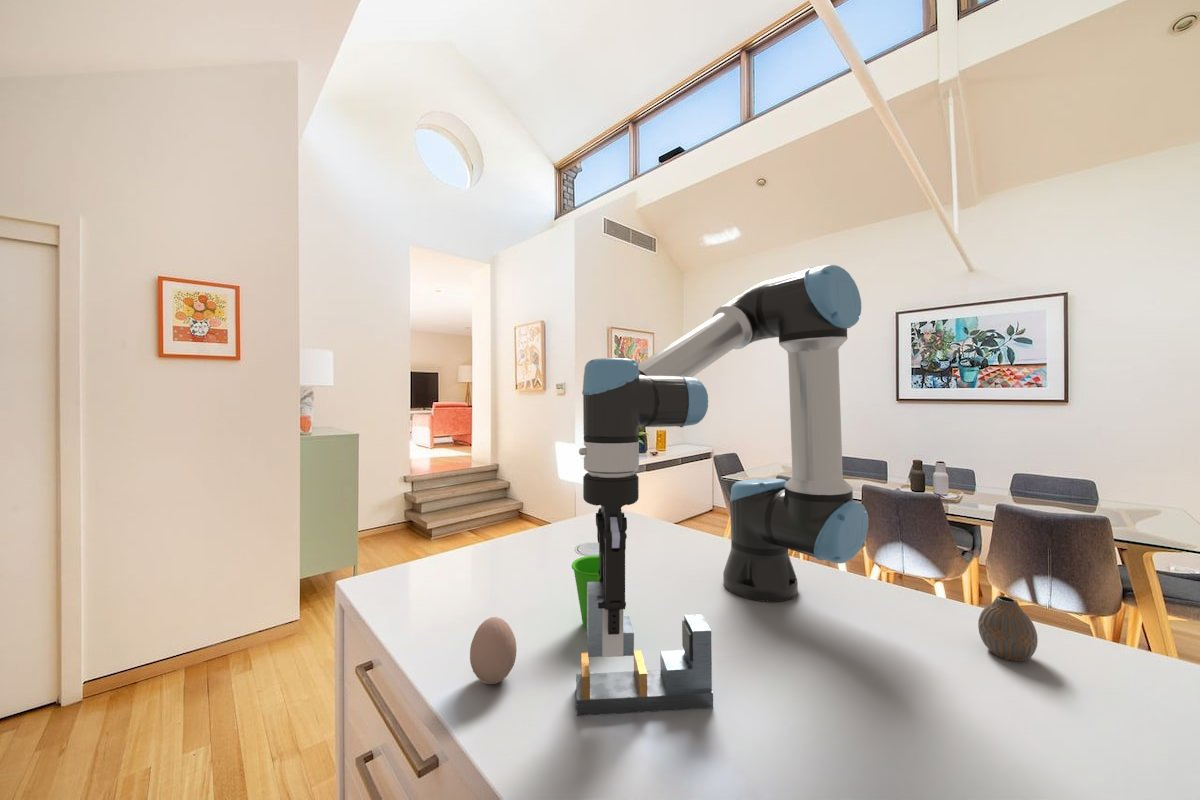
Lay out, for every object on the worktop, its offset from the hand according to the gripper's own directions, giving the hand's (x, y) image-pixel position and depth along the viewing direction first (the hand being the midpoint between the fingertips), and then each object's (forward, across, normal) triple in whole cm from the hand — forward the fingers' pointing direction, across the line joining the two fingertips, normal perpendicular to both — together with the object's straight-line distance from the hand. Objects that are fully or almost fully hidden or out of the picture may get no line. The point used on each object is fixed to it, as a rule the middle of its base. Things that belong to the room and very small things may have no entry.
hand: (610, 643), depth 61 cm
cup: (+8, -21, -1) cm, 22 cm away
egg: (+8, -6, -17) cm, 19 cm away
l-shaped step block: (0, 0, 0) cm, 0 cm away
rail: (+8, 0, +4) cm, 9 cm away
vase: (+7, -6, +63) cm, 64 cm away
